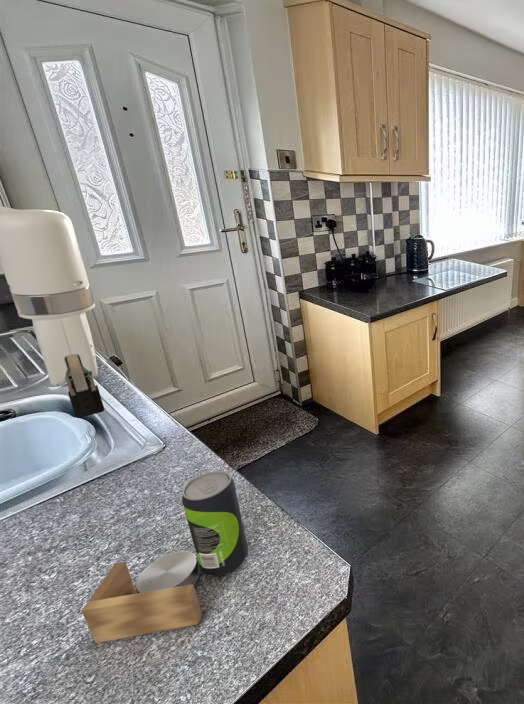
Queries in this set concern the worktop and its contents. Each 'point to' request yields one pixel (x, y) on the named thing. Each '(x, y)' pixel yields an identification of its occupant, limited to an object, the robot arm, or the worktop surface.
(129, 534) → the worktop surface
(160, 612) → the corner guard
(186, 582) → the brushed steel puck
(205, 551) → the beverage can
